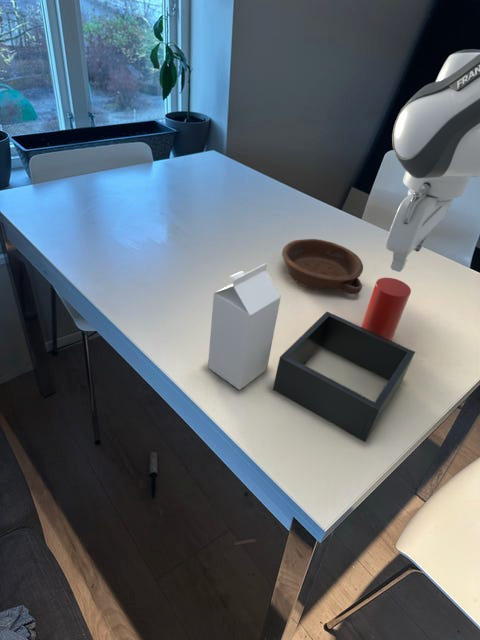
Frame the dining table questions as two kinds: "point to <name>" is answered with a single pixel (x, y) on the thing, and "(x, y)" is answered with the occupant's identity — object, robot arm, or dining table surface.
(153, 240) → the dining table surface
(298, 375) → the open box
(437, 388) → the dining table surface
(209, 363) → the milk carton
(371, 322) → the can
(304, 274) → the dish
